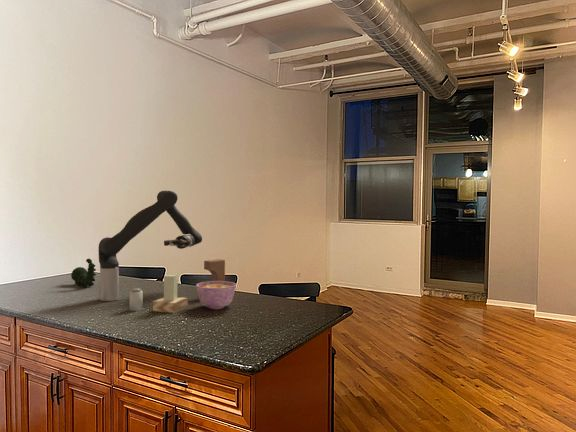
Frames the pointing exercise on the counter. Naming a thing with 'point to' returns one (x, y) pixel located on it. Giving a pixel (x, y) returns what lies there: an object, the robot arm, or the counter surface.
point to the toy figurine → (84, 275)
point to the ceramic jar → (136, 299)
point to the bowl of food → (216, 293)
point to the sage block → (170, 287)
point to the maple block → (170, 305)
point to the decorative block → (216, 269)
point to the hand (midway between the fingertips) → (172, 244)
